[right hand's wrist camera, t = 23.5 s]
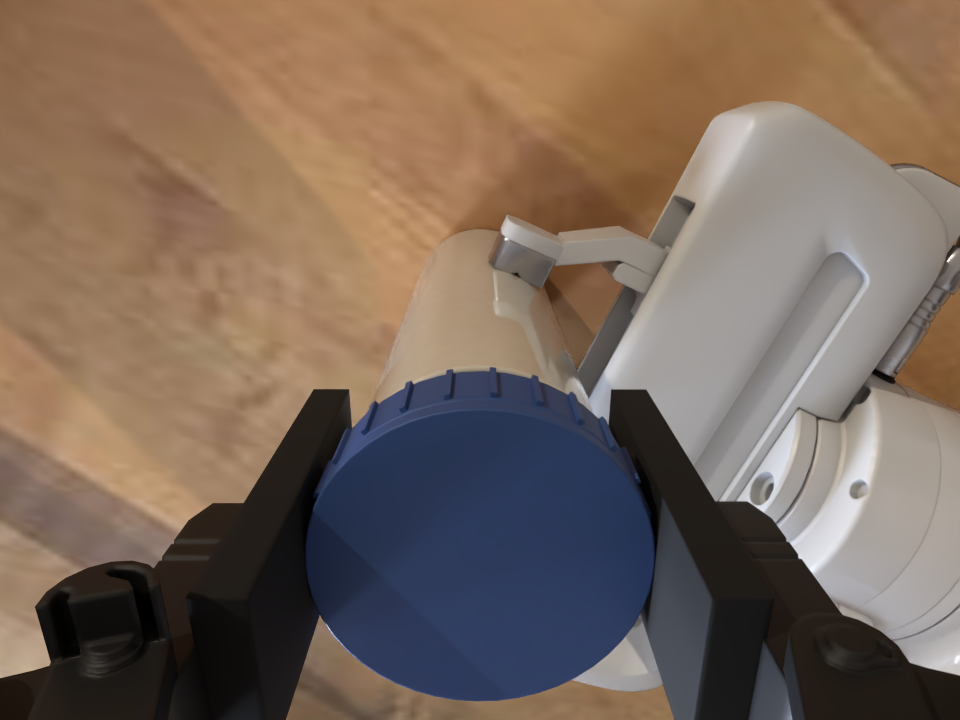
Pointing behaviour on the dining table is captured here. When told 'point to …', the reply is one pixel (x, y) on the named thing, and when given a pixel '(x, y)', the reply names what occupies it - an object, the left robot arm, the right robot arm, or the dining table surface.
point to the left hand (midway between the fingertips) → (454, 331)
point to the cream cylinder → (477, 323)
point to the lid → (480, 538)
